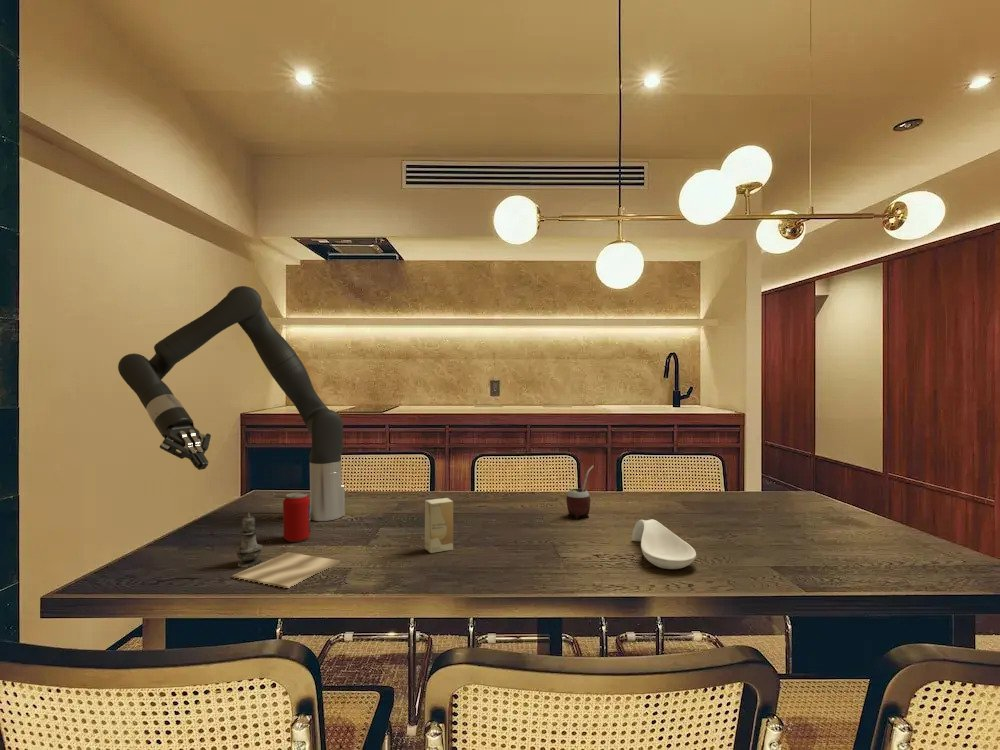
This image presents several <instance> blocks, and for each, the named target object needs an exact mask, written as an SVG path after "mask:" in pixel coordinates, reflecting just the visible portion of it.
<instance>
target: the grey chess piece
mask: <svg viewBox="0 0 1000 750" xmlns="http://www.w3.org/2000/svg"><path fill="white" fill-rule="evenodd" d="M256 533H258V530H257V529H256V518H255V517H254V516H252V515H251V513H250V512H247V513H246V516H244V517H243V518H242V519H241V531H240V535H241V543H240V546H238V547H237V548H235V549H234V552H235V553H236V556H237V558H238V559H240V561H239V562H238V563H237V564H239V565H240V566H253V565H256V564H259V563H260V562H261V561H262V560H261V559H259V556H260V555H261V553H262V549H263V545H262V544H261V543H260V544H259V543H258V542H257V534H256ZM261 563H262V562H261ZM261 563H260V564H261ZM253 567H254V566H253Z"/></svg>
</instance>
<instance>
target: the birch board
mask: <svg viewBox="0 0 1000 750" xmlns="http://www.w3.org/2000/svg"><path fill="white" fill-rule="evenodd" d="M339 564H341V560H339V559H333V558H327V557H321V556H313V555H308V554H301V553H297V552H291V551H290V552H289V551H287V552H285V553H283V554H280V555H278V556H275V557H274V558H271V559H269V560H265V561H263V562H261V563H260V564H258V565H256V566H253V567H248V568H246V569H244V570H240V571H239V572H236V573H234V574H232V575H231V577H234V578H233V579H235V578H239V579H238V580H240V579H244V580H243V581H245V580H248V581H247V582H250V581H252V582H251V583H255V582H258V583H257V584H260V583H263V584H262V585H265V584H268V585H267V586H270V585H273V586H272V587H275V586H278V587H277V588H280V587H283V588H282V589H285V588H289V589H290V587H291V586H293V587H295V586H297V585H299V584H300V583H299V582H301V583H303V582H304V581H303V580H305V579H307V578H309V577H311V576H313V575H315V574H317V573H319V574H321V573H323V572H325V571H327V570H329V569H331V568H333V567H335V566H337V565H339ZM328 568H329V569H328ZM326 569H327V570H326ZM324 570H325V571H324ZM322 571H323V572H322ZM320 572H321V573H320ZM317 575H318V574H317ZM315 576H316V575H315ZM313 577H314V576H313ZM311 578H312V577H311ZM309 579H310V578H309ZM307 580H308V579H307ZM302 581H303V582H302ZM305 581H306V580H305ZM298 583H299V584H298ZM296 584H297V585H296ZM294 585H295V586H294ZM291 588H292V587H291Z"/></svg>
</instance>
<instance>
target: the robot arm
mask: <svg viewBox="0 0 1000 750" xmlns="http://www.w3.org/2000/svg"><path fill="white" fill-rule="evenodd" d="M262 304H263V303H262V297H261V295H260V293H259V292H258V291H257V290H256V289H254V288H252V287H250V286H246V285H242V286H241V285H240V286H236V287H234V288H232V289H230V290H229V291H228V293H227V294H226V296H224V297H223V298H222V299H221V300H220V301H219V302H218V303H217V304H216V305H214V306H213V307H212V308H210V309H209V310H208V311H207V312H205V313H203V314H202V315H200V316H198V317H197V318H196V319H194V320H192V321H191V322H188V323H187V324H185V325H183V326H181V327H180V328H179V329H177V330H175V331H173V332H172V333H170V334H169V335H167V336H165V337H163V338H162V339H161V340H160V341H158V342H156V343H155V345H153V349H154V350H153V351H154V352H155V354H154V355H153V356H152V357H151V358H150V359H148V358H147V357H146V356H144V355H143V354H140V353H128V354H125V355H124V356H123V357H121V359H120V360H119V361H118V364H117V371H118V373H119V375H120V376H121V378H122V380H123V381H124V382H125V383H126V384H127V385H128V386H129V388H130V389H131V390H132V391H133V392H134V393H135V394H136V396H137V397H138V399H139V401H140V403H141V404H142V405H143V407H144V409H145V410H146V412H147V413H148V416H149V419H150V420H151V421H152V423H153V424H154V426H155V428H156V429H157V430H158V432H159V433H160V435H161V437H162V438H163V440H162V442H161V444H160V445H159V448H160V449H161V450H163V451H165V452H167V453H169V454H170V455H173V456H175V457H177V458H179V459H181V460H183V459H185V458H186V459H187V460H189V461H190V462H191V463H192V465H193V466H194V468H196V469H197V471H201V470H205V469H206V468H207V467H208V465H209V460H208V459H207V457H206V456H205V453H206V452H207V451H208V449H209V446H210V441H211V437H212V435H211V434H210V433H206V434H203V433H200V431H199V429H197V428H196V427H195V425H194V424H195V423H194V420H193V418H192V417H191V416H190V415H189V413H188V411H187V410H186V408H185V407H184V406H183V405H182V403H181V402H180V400H178V398H177V397H176V396H175V394H174V393H173V392H172V390H171V389H170V387H169V386H168V385H167V384H166V383H165V382H164V381H163V379H164V378H165V376H166V375H168V373H170V371H172V369H173V368H174V367H175V365H176V364H177V363H178V362H181V361H183V360H184V359H185V358H187V357H189V356H190V355H191V354H194V352H196V351H197V350H198V349H200V348H201V347H202V346H204V345H206V343H208V342H209V341H210V340H212V339H213V338H214V337H216V336H217V335H218V334H219V333H221V332H223V331H224V330H226V329H227V328H229V327H231V326H233V325H235V324H238V325H239V326H240V327H241V329H242V331H244V333H245V334H246V335H247V337H248V338H249V340H250V341H251V343H252V344H253V347H254V348H255V350H256V352H257V354H258V356H259V358H260V359H261V361H262V363H263V365H264V366H265V368H266V370H267V371H268V372H269V374H270V375H271V376H272V378H273V379H274V381H275V382H276V383H277V385H278V386H279V388H280V389H281V390H282V391H283V393H284V394H285V395H286V396H287V397H288V399H289V400H290V401H291V402H292V404H293V405H294V406H295V408H296V410H297V412H298V414H299V416H300V418H301V419H302V420H303V423H304V425H305V427H306V429H307V431H308V432H309V433H310V434H311V449H310V452H309V493H310V497H309V499H310V521H311V520H312V521H315V522H326V521H333V520H338V519H340V518H342V517H345V516H346V504H345V503H346V501H345V497H346V496H345V495H346V494H345V485H344V484H343V483H342V481H343V480H342V453H343V448H344V424H343V423H344V422H343V419H342V417H341V415H340V414H339V413H338V412H337V411H335V410H332V409H329V407H327V405H326V404H325V403H324V401H323V400H322V399H321V398H320V397H319V395H318V394H317V391H316V390H315V388H314V387H313V383H312V381H311V378H310V375H309V373H308V370H307V369H306V367H305V365H304V363H303V362H302V360H301V359H300V356H298V354H297V353H296V351H295V350H294V348H293V347H292V346H291V345H290V343H289V342H288V341H287V340H286V338H284V337H283V336H282V335H281V334H280V333H279V332H278V331H277V330H276V328H275V327H274V326H273V325H272V323H271V321H270V320H269V318H268V315H266V313H265V310H264V308H263V307H262Z"/></svg>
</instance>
